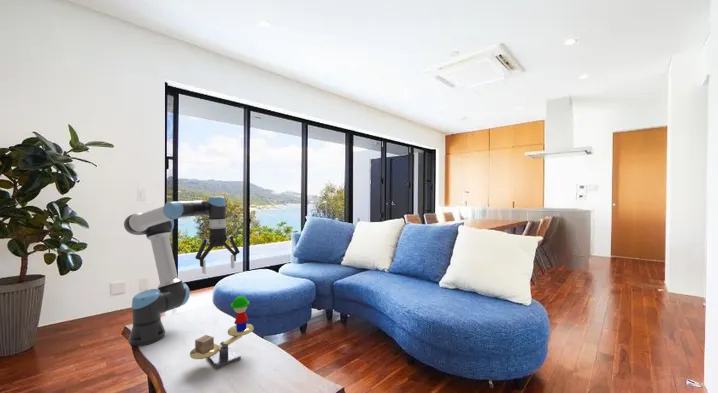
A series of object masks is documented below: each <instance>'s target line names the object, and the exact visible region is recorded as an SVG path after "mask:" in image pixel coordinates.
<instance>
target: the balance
mask: <svg viewBox="0 0 718 393" xmlns="http://www.w3.org/2000/svg"><path fill="white" fill-rule="evenodd" d="M246 326H247V329H245V330H242V331H236V324H235V325H233V326H231V327H229V328H228V330H227V335H229V336H230V338H229V339H227V340H225V341H221V342H220V344H219V345H218V344H216V343H214V349H213V350H211V351H209V352H207V353H205V354H201V353H198V352H195V348H193V349H192V350H191V351H190V352H189V357H190V358H191V359H192V360H193V359H194V360H205V359H206V360H208V361H209V362H210V363H211V364H212V365H213V366H214V368H215V369H216V370H219V369H220V368H223V367H225V366H228V365H231V364H233V363H237V362H239V361H241V355H240V354H239V353H238V352H237V351H235V349H234V348H232V347H231V346H229V345H231V344H233V343H234V342H236V341H237V340H240V339H241V338H242V337H243V336H247V335H248V334H251V333H252V332H253V331H254V328H255V327H254V325H253V324H251V323H246Z"/></svg>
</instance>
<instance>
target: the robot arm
mask: <svg viewBox="0 0 718 393" xmlns="http://www.w3.org/2000/svg"><path fill="white" fill-rule="evenodd" d="M226 205H227V204H226V198H225V197H224V196H222V195H221V196H209V197H208V200H201V199H200V200H187V201H183V200H182V201H180V200H179V201H175V200H174V201H169V202H166V203H165V204H164V205H163V206H160V207H157V208H154V209H152V210H148V211H146V212H143V213H142V212H136V213H133V214H130V215H128V216H127V217H126V218H125V219H124V222H123V227H124V230H125V231H126V232H127V233H129V234H131V235H134V236H143V235H145V236H146V239H147V240H149V241H150V243H151V247H152V253H153V258H154V261H155V266H156V271H157V275H158V280H159V285H158V286H157V288H150V289H146V290H144V291H141V292H138V293H137V294H135V295H134V296H133V297H132V301H131V311H132V312H131V313H132V314H131V315H132V328H131V331H130V334H129V337H128V344H129V345H130V346H133V347H135V346H136V347H138V346H139V345H141V346H145V345H144V344H146V345H150V344H153V343H157V342H158V341H160V340H162V339H163V338H164V337H165V336H166V329H165V327H164V325H163V322H162V320H161V319H162V318H161V316H162V315H161V314H162V313H165V312H169V311H171V310H174V309H177V308H180V307H181V306H184V305H186V303H188V301H189V299H190V288H189V286H188V285H187V284H186V283H184V282H183V280H182V279H180V278H179V277H178V272H177V267H176V264H175V263H176V261H175V259H174V254H173V250H172V245H171V239H170V237H171V234H172V231H173V229H174V227H175V221H174V220H177V219H180V218H187V217H198V216H199V217H200V216H208V221H209V222H208V224H209V225H208V227H209V230H208V232H209V238H202V240H201V244H200V246H199V250H197V253H196V255H195V257H194V258H195V260H199V266H200V267H201V268H202V269H201V271H202V272H201V273H202V274H203V275H206V272H207V271H206V268H207V267H206V266H207V264H206V257H207V256H208V255H209V253H210V252H211V251H212V249H214V248H217V247H225V249H227V251H229V253H231V254H230V268H231V269H235V262H236V261H237V255H238V254H240V253H241V252H240V250H239V247H238V246H237V244H236V243H235V241H234V236H233V235H229V236H227V227H226V226H227V224H226V223H227V221H226V220H227V219H226V218H227V217H226V214H227V213H226V210H227V209H226V208H227V207H226ZM227 241H228V242H229V243H230V245H231V246H229V245H228V243H227ZM208 243H209V245H208V246H207V247H206V245H207V244H208ZM149 343H150V344H149ZM139 347H140V346H139Z"/></svg>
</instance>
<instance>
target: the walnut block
mask: <svg viewBox="0 0 718 393" xmlns="http://www.w3.org/2000/svg"><path fill="white" fill-rule="evenodd" d="M214 337H215V336H211V335H207V334H205V335H203V336H201V337H198V338H196V339H195V340H194V347H195V352H198V353H201V354H205V353H207V352H209V351H211V350H213V349H214V344H215V342H214V341H215V340H214V339H215V338H214Z"/></svg>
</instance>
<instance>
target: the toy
mask: <svg viewBox="0 0 718 393" xmlns="http://www.w3.org/2000/svg"><path fill="white" fill-rule="evenodd" d="M249 305H250V301H249V300H248V298H246V297H245V296H243V295H239V296H237V297H235V298H234V299H233V302H232V303H231V304H230V307H231V308H232V309H233V311H234V312H235V313H236V316H235V320H234V324H235V325H236V331H242V330H245V329H247V326H246V324H248V322H249V319H248V316H247V313H246V310H247V308H248V306H249Z"/></svg>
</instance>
